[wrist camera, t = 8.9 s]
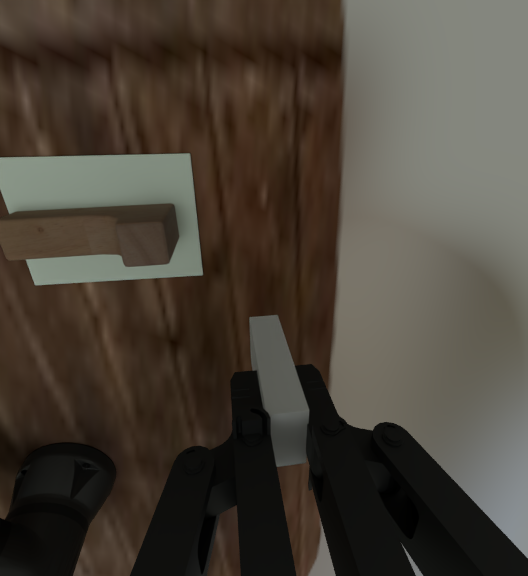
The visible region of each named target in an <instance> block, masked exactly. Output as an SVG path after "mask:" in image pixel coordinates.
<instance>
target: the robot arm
mask: <svg viewBox="0 0 528 576" xmlns="http://www.w3.org/2000/svg"><path fill="white" fill-rule="evenodd" d="M249 321H250V347H251V363H252V369H253V371H244V372H235V373H234V375H233V377H232V379H231V400H232V419H233V420H232V429H233V430H232V433H231V436H230V437H229V438H228V440H227V441H226V442H224V443H223V444H222V445H220V446H218V447H216V448H213V449H211V450H209V449H207V448H206V447H202V446H192V447H190V448H188V449H185V450H184V451H183V452H181V453H180V454H179V455H178V457H177V458H176V460H175V461H174V464H173V466H172V469H171V472H170V474H169V477H168V479H167V482H166V484H165V487H164V490H163V492H162V495H161V497H160V500H159V502H158V505H157V508H156V510H155V513H154V515H153V518H152V520H151V523H150V526H149V528H148V531H147V533H146V536H145V538H144V541H143V544H142V546H141V549H140V551H139V554H138V556H137V559H136V562H135V564H134V567H133V569H132V572H131V575H130V576H207V571H208V567H209V562H210V558H211V553H212V548H213V544H214V539H215V534H216V530H217V525H218V520H219V516H220V513H222V512H224V511H226V510H228V509H230V508H232V507H234V506H235V505H237V513H238V531H239V549H240V567H241V576H296V571H295V566H294V560H293V555H292V549H291V544H290V538H289V533H288V527H287V522H286V516H285V511H284V505H283V500H282V494H281V489H280V483H279V478H278V472H277V467H279V466H286V465H294V464H301V463H306V455H307V458H308V461H309V465H310V468H309V482H308V487H309V490H312V488H313V492H314V496H315V499H316V503H317V507H318V511H319V514H320V518H321V522H322V526H323V529H324V533H325V537H326V541H327V544H328V548H329V552H330V556H331V559H332V563H333V567H334V571H335V574H336V576H416V575H415V573H414V571H413V569H412V566H411V564H410V562H409V560H408V557H407V555H406V553H405V551H404V548H405V549H406V551H407V552H408V553H409V555H410V556H411V558H412V559H413V561H414V562H415V564H416V565H417V566H418V568H419V570H420V571H421V573H422V574H423V576H528V558H526V556H525V555H524V554H523V553H522V552H521V551H520V550H519V549H518V548H517V547H516V546H515V545H514V544H513V543H512V542H511V540H510V539H509V538H508V537H507V536H506V535H505V534H504V533H503V532H502V531H501V530H500V529H499V528H498V527H497V526H496V525H495V524H494V523H493V521H492V520H491V519H490V518H489V517H488V516H487V515H486V514H485V513H484V512H483V511H482V510H481V509H480V508H479V507H478V506H477V505H476V503H475V502H474V501H473V500H472V499H471V498H470V497H469V496H468V495H467V494H466V493H465V492H464V491H463V490H462V489H461V488H460V487H459V486H458V484H457V483H456V482H455V481H454V480H453V479H451V477H450V476H449V475H448V474H447V473H446V472H445V471H444V470H443V469H442V468H441V466H440V465H439V464H437V462H436V461H435V460H434V459H433V458H432V457H431V456H430V455H429V454H428V453H427V452H426V451H425V450H424V449H423V448H422V446H421V445H420V444H419V443H418V442H417V441H416V440H415V439H414V438H413V437H412V436H411V435H410V434H409V433H408V432H407V431H406V430H405V429H403V428H402V427H401V426H398V425H397V424H394V423H389V422H384V423H379V424H378V425H376V426H375V427H374V429H373V431H372V430H366V429H360V428H356V427H353V426H351V425H348V424H347V423H346V421H345V420H344V419H342V418H341V417H340V416H339V415H338V413H337V411H336V409H335V407H334V404H333V402H332V400H331V397H330V395H329V392H328V390H327V388H326V385H325V383H324V381H323V379H322V376H321V374H320V372H319V370H318V369H316V368H315V367H314V366H313V365H312V364H308V365H298V366H294V363H293V360H292V357H291V354H290V351H289V348H288V345H287V342H286V339H285V336H284V333H283V330H282V327H281V324H280V321H279V318H278V315H272V316H259V317H249ZM115 478H116V469H115V466H114V464H113V463H112V461H111V460H110V459H109V458H108V457H107V456H106V455H105V454H103V453H102V452H100V451H98V450H96V449H94V448H91V447H88V446H84V445H80V444H72V443H60V444H53V445H48V446H45V447H42V448H40V449H37V450H36V451H34V452H33V453H31V454H30V455H29V456H28V457H27V458H26V460H25V461H24V463H23V465H22V466H21V468H20V470H19V472H18V474H17V477H16V481H15V485H14V490H13V495H12V500H11V505H10V509H9V513H8V515H7V517H6V519H5V520H4V519H1V518H0V576H73V573H74V570H75V567H76V564H77V561H78V558H79V555H80V552H81V549H82V546H83V543H84V540H85V536H86V533H87V530H88V527H89V525H90V523H91V522H92V520H93V519H94V517H95V516H96V514H97V513H98V511H99V510H100V508H101V507H102V505H103V504H104V502H105V500H106V499H107V497H108V496H109V494H110V493H111V490H112V488H113V484H114V481H115ZM401 543H402V544H401ZM402 545H403V546H404V548H403V547H402Z"/></svg>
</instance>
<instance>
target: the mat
mask: <svg viewBox="0 0 528 576" xmlns="http://www.w3.org/2000/svg"><path fill="white" fill-rule="evenodd" d="M0 190H1V192H2V195H3V198H4V201H5V203H6V206H7V209H8V212H9V214H11V213H14V212H17V211H36V210H55V209H74V208H93V207H111V206H130V205H149V204H169V203H171V204H174V206H175V211H176V218H177V224H178V231H179V240H178V242H177V245H176V247H175V250H174V252H173V255H172V258H171V260H170V263H169V264H165V265H151V266H137V267H125V265H124V264H123V260H122V256H120V255H106V254H102V255H87V256H72V257H56V258H41V259H26V261H27V264H28V267H29V270H30V272H31V275H32V278H33V281H34V284H35V285H47V284H64V283H81V282H98V281H114V280H131V279H148V278H165V277H181V276H198V275H203V269H202V259H201V250H200V240H199V231H198V221H197V212H196V202H195V193H194V183H193V174H192V164H191V155H190V153H183V154H136V155H89V156H42V157H0Z"/></svg>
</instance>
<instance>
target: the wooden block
mask: <svg viewBox="0 0 528 576" xmlns="http://www.w3.org/2000/svg"><path fill="white" fill-rule="evenodd" d="M178 240H179V231H178V224H177V218H176V211H175V206H174V204H171V203H169V204H149V205H130V206H111V207H93V208H74V209H55V210H36V211H17V212H14V213H11V214H8V215H6V216H3V217H1V218H0V244H1V247H2V249H3V252H4V254H5V256H6V258H7V260H26V259H41V258H56V257H72V256H87V255H102V254H106V255H120V256H122V260H123V264H124V265H125V267H137V266H151V265H165V264H169V263H170V260H171V258H172V255H173V252H174V250H175V247H176V245H177V242H178Z"/></svg>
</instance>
